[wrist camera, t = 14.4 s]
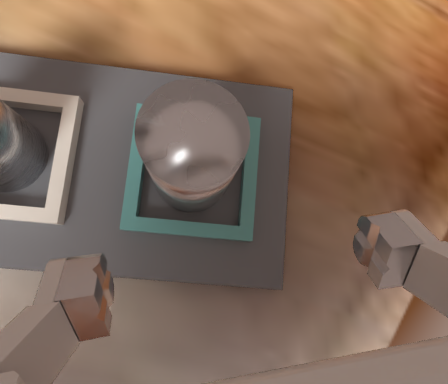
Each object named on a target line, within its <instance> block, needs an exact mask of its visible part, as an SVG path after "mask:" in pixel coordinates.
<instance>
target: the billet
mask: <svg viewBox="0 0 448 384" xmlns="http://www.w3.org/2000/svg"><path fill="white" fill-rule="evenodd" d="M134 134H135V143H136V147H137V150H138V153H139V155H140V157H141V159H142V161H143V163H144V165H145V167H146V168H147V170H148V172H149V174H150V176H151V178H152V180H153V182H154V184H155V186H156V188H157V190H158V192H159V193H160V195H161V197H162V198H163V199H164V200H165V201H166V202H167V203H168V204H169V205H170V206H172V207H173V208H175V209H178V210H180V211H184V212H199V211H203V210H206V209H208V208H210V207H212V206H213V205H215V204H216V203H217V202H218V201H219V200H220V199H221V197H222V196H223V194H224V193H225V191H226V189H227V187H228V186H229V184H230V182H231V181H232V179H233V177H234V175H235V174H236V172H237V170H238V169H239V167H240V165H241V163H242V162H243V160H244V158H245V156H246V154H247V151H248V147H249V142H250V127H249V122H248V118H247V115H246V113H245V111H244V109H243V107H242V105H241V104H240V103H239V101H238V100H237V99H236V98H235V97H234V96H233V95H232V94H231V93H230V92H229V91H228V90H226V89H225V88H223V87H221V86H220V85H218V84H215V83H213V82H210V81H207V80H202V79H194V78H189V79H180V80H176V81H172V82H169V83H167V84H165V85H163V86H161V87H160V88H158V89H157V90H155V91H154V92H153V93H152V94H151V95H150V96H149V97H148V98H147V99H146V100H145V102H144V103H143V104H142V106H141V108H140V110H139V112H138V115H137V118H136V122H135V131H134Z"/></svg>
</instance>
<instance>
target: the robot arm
mask: <svg viewBox="0 0 448 384" xmlns="http://www.w3.org/2000/svg"><path fill="white" fill-rule="evenodd" d="M357 226H358V228H359V229H360V230H359V232H358V233H357V234H356V235H355V236H354V240H353V248H354V253H355V255H356V258H357V259H358V261H359V262H360V263H361V264H362V265H364V266H366V267H368V271H367V274H368V276H369V277H370V279H371V280H372V282H373V283H374V284H375V286H376V287H377V289H378V290H379V289H386V288H393V287H400V286H403V288H405V289H406V290H408V291H409V292H411V293H412V294H414V295H415V296H416V297H418V298H420V299H421V300H422V301H424V302H425V303H427V304H428V305H430V306H431V307H433V308H434V309H436V310H437V311H439V312H440V313H442V314H443V315H444V316H446V317H447V318H448V242H446V241H439V240H438V239H437V238H436V237H435V236H434V235H433V234H432V233H431V232H430V231H429V230H428V229H427V228H426V227H425V226H424V225H423V224H422V223H421V222H420V221H419V220H418V219H417V218H416V217H415V216H414V215H413V214H412V213H411V212H410V211H408V210H406V209H402V210H396V211H390V212H384V213H378V214H371V215H364V216H361V217H360V218H359V220H358V224H357ZM106 268H107V260H106V257H105V254H103V253H99V254H90V255H82V256H74V257H68V258H60V259H51V260H50V261H49V262H48V263H47V264H46V267H45V270H44V273H43V276H42V279H41V282H40V285H39V288H38V291H37V294H36V297H35V300H34V302H33V305H32V306H28V307H26V308H25V309H24V310H23V311H22V312H21V313H20V314H18V315H17V316H16V317H15V318H14V319H13V320H12V321H11V322H10V323H9V324H8V325H7V326H6V327H5V328H3V329H2V330H1V331H0V384H52V382H53V381H54V380H55V378H56V377H57V375H58V374H59V372H60V371H61V370H62V368H63V367H64V365H65V364H66V362H67V361H68V359H69V358H70V357H71V355H72V354H73V352H74V351H75V349H76V348H77V347H78V345H79V344H80V343H79V342H81V341H86V340H91V339H96V338H101V337H106V336H110V329H111V320H112V314H111V311H110V309H109V308H110V306H111V305H112V304H113V301H114V284H113V278H112V275H111V272H109V271H108V270H106ZM203 384H448V336H444V337H439V338H434V339H429V340H424V341H419V342H413V343H408V344H403V345H398V346H393V347H388V348H383V349H378V350H372V351H367V352H362V353H357V354H352V355H347V356H342V357H337V358H331V359H326V360H321V361H316V362H311V363H306V364H301V365H295V366H290V367H285V368H280V369H275V370H270V371H265V372H259V373H254V374H249V375H244V376H239V377H234V378H229V379H223V380H218V381H213V382H208V383H203Z"/></svg>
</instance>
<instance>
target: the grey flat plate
mask: <svg viewBox="0 0 448 384" xmlns="http://www.w3.org/2000/svg"><path fill="white" fill-rule="evenodd" d="M189 78H194V79H202V80H207V81H210V82H213V83H215V84H218V85H220V86H221V87H223V88H225V89H226V90H228V91H229V92H230V93H231V94H232V95H233V96H234V97H235V98H236V99H237V100H238V101H239V103H240V104H241V105H242V107H243V109H244V111H245V113H246V115H247V118H248V122H249V127H250V142H249V147H248V151H247V154H246V156H245V158H244V160H243V162H242V163H241V165H240V167H239V169H238V170H237V172H236V174H235V175H234V177H233V179H232V181H231V182H230V184H229V186H228V187H227V189H226V191H225V193H224V194H223V196H222V197H221V199H220V200H219V201H218V202H217V203H216V204H215V205H213V206H212V207H210V208H208V209H206V210H203V211H199V212H184V211H180V210H178V209H175V208H173V207H172V206H170V205H169V204H168V203H167V202H166V201H165V200H164V199H163V198H162V197H161V195H160V193H159V192H158V190H157V188H156V186H155V184H154V182H153V180H152V178H151V176H150V174H149V172H148V170H147V168H146V167H145V165H144V163H143V161H142V159H141V157H140V155H139V153H138V150H137V147H136V143H135V134H134V131H135V122H136V118H137V115H138V112H139V110H140V108H141V106H142V104H143V103H144V102H145V100H146V99H147V98H148V97H149V96H150V95H151V94H152V93H153V92H154V91H155V90H157V89H158V88H160V87H161V86H163V85H165V84H167V83H169V82H172V81H176V80H180V79H189ZM292 99H293V89H285V88H278V87H270V86H262V85H254V84H246V83H238V82H231V81H223V80H215V79H207V78H199V77H191V76H183V75H176V74H168V73H160V72H152V71H144V70H136V69H129V68H121V67H113V66H105V65H97V64H89V63H81V62H74V61H66V60H58V59H50V58H42V57H34V56H26V55H19V54H11V53H3V52H0V100H2V101H3V102H4V103H5V104H7V105H8V106H9V107H10V108H12V109H13V110H14V111H15V112H17V113H18V114H19V115H20V116H22V117H23V118H24V119H25V120H27V121H28V122H29V123H30V124H32V125H33V126H34V127H35V128H37V129H38V130H39V131H40V132H41V134H42V135H43V137H44V139H45V141H46V143H47V147H48V160H47V164H46V166H45V169H44V170H43V172H42V174H41V175H40V176H39V178H38V179H37V180H36V181H35V182H33V183H32V184H31V185H29V186H28V187H26V188H24V189H21V190H18V191H15V192H8V193H1V192H0V268H6V269H19V270H31V271H44V270H45V267H46V264H47V263H48V262H49V261H50V260H51V259H60V258H68V257H74V256H82V255H90V254H99V253H103V254H105V257H106V260H107V268H106V270H108V271H109V272H111V275H112V277H120V278H133V279H146V280H158V281H171V282H184V283H196V284H209V285H222V286H235V287H247V288H260V289H273V290H283V272H284V252H285V233H286V214H287V195H288V176H289V157H290V137H291V118H292Z"/></svg>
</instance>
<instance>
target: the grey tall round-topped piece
mask: <svg viewBox="0 0 448 384" xmlns="http://www.w3.org/2000/svg"><path fill="white" fill-rule="evenodd" d="M47 160H48V147H47V143H46V141H45V139H44V137H43V135H42V134H41V132H40V131H39V130H38V129H37V128H35V127H34V126H33V125H32V124H30V123H29V122H28V121H27V120H25V119H24V118H23V117H22V116H20V115H19V114H18V113H17V112H15V111H14V110H13V109H12V108H10V107H9V106H8V105H7V104H5V103H4V102H3V101H2V100H0V192H1V193H8V192H15V191H18V190H21V189H24V188H26V187H28V186H29V185H31V184H32V183H33V182H35V181H36V180H37V179H38V178H39V176H40V175H41V174H42V172H43V170H44V169H45V166H46V164H47Z"/></svg>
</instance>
